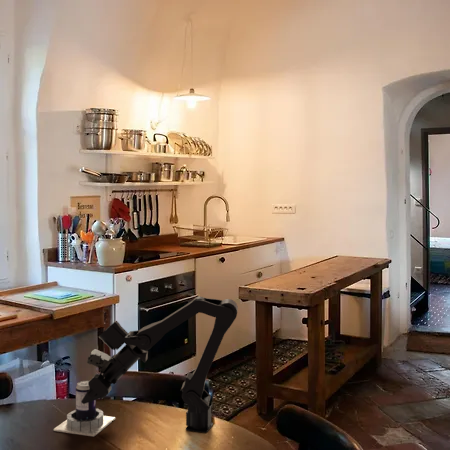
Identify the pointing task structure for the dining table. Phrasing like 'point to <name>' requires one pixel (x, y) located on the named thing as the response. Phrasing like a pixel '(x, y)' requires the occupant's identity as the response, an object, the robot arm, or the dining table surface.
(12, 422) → the dining table surface
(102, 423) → the collar seat
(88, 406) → the beverage can
